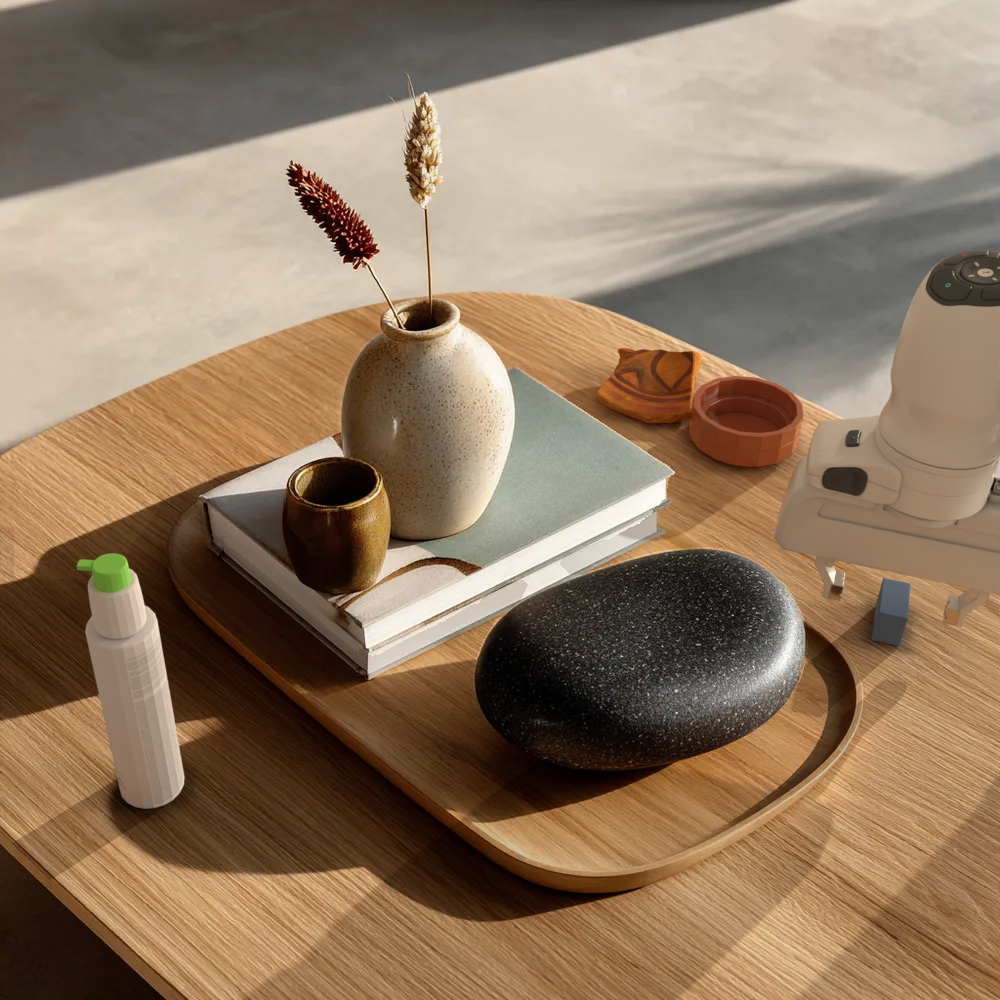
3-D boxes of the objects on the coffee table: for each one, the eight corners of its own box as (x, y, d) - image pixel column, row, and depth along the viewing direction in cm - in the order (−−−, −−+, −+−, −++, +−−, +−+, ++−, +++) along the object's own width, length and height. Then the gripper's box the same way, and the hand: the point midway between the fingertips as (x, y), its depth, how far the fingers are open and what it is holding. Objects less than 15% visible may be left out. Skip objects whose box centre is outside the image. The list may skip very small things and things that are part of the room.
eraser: (875, 605, 109) (883, 577, 107) (903, 611, 109) (911, 583, 107) (871, 640, 106) (879, 612, 104) (899, 646, 105) (907, 618, 103)
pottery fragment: (703, 348, 135) (699, 385, 126) (699, 390, 137) (695, 429, 128) (604, 339, 136) (593, 375, 127) (601, 381, 138) (590, 419, 129)
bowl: (739, 399, 133) (744, 365, 131) (818, 446, 127) (825, 411, 124) (666, 434, 128) (670, 399, 125) (745, 484, 122) (751, 449, 119)
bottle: (144, 752, 94) (100, 533, 82) (197, 772, 93) (160, 552, 81) (107, 797, 91) (56, 575, 79) (161, 817, 90) (118, 595, 78)
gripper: (1078, 470, 98) (1027, 610, 106) (798, 417, 102) (770, 556, 110) (1082, 520, 93) (1028, 663, 101) (787, 463, 97) (759, 605, 106)
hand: (891, 607), depth 106 cm, fingers open, 8 cm apart
